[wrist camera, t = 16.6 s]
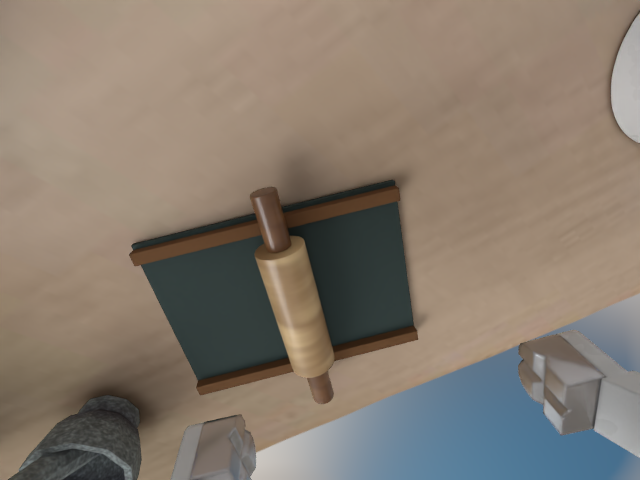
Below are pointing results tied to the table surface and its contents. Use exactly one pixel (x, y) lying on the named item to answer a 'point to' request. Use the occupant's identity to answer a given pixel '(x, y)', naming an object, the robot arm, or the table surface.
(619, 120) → the robot arm
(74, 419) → the mortar and pestle
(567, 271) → the table surface
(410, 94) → the table surface
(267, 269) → the rolling pin
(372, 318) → the chalkboard
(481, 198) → the table surface
